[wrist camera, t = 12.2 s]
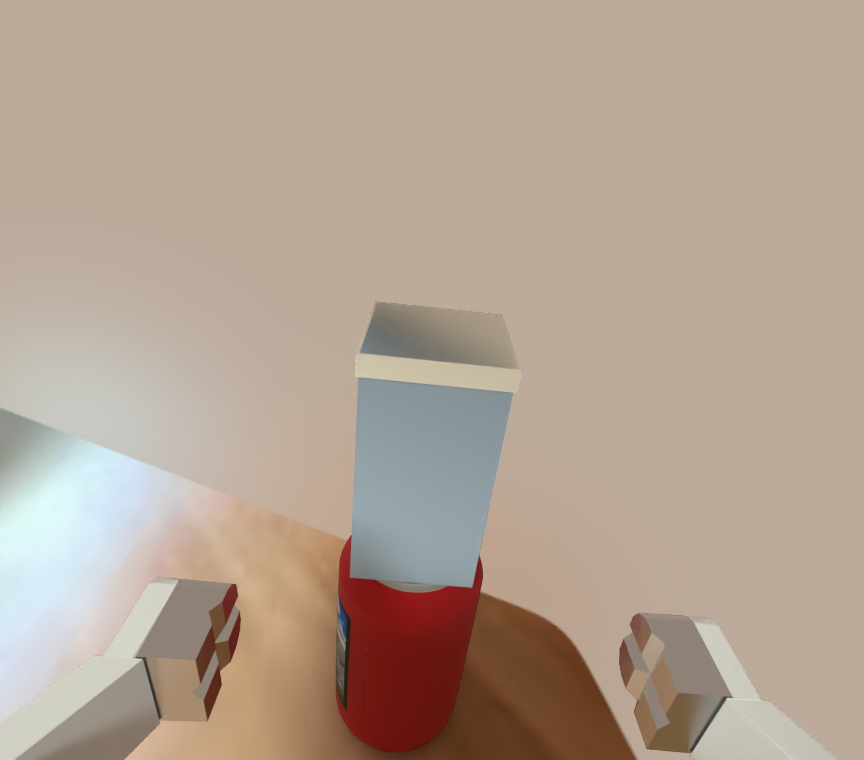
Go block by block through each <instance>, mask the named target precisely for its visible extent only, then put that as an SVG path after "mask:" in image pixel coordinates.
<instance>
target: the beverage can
mask: <svg viewBox="0 0 864 760" xmlns="http://www.w3.org/2000/svg"><path fill="white" fill-rule="evenodd" d="M351 539H352V535H351V536H350V538H349V539H348V541H347V542H346V544H345V546H344V548H343V550H342V553H341V557H340V563H339V584H338V610H337V645H336V698H337V704H338V708H339V711H340V714H341V716H342V718H343V720H344V722H345V724H346V725H347V727H348V728H349V729H350V730H351V732H352V733H353V734H354V735H355V736H356V737H357V738H359V739H360V740H361V741H363V742H364V743H366V744H367V745H369V746H371V747H374V748H376V749H379V750H383V751H388V752H403V751H409V750H413V749H416V748H418V747H421V746H423V745H424V744H426V743H428V742H429V741H431V740H432V739H433V738H434V737H436V736H437V735H438V734H439V733H440V732H441V730H442V729H443V728H444V727H445V725H446V724H447V722H448V720H449V718H450V716H451V714H452V711H453V709H454V705H455V701H456V697H457V693H458V689H459V685H460V680H461V676H462V672H463V668H464V664H465V659H466V655H467V651H468V646H469V642H470V637H471V633H472V628H473V624H474V619H475V614H476V609H477V605H478V600H479V595H480V590H481V585H482V579H483V570H482V563H481V560H480V556H479V558H478V562H477V567H476V572H475V577H474V581H473V586H472V588H471V587H459V586H447V585H435V584H423V583H410V582H398V581H386V580H374V579H362V578H350V562H351Z"/></svg>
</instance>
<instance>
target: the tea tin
mask: <svg viewBox="0 0 864 760" xmlns="http://www.w3.org/2000/svg"><path fill="white" fill-rule="evenodd" d="M521 372H522V370H521V368H520V365H519V361H518V359H517V356H516V353H515V350H514V347H513V344H512V342H511V339H510V336H509V333H508V330H507V327H506V324H505V322H504V319H503V316H502V315H501V314H491V313H482V312H472V311H462V310H453V309H444V308H435V307H425V306H416V305H406V304H397V303H388V302H378V301H375V302H374V305H373V308H372V311H371V313H370V316H369V319H368V322H367V324H366V327H365V330H364V333H363V336H362V338H361V341H360V344H359V347H358V349H357V352H356V363H355V377H358V400H357V424H356V446H355V447H356V448H355V470H354V493H353V494H354V495H353V515H352V539H351V562H350V578H362V579H374V580H386V581H398V582H410V583H423V584H435V585H447V586H459V587H471V588H472V586H473V581H474V577H475V572H476V567H477V562H478V558H479V553H480V548H481V543H482V539H483V534H484V529H485V524H486V519H487V515H488V510H489V505H490V501H491V496H492V491H493V486H494V481H495V477H496V472H497V467H498V463H499V458H500V453H501V448H502V444H503V439H504V434H505V429H506V424H507V420H508V415H509V410H510V406H511V401H512V396H513V393H517V391H518V386H519V382H520V377H521Z"/></svg>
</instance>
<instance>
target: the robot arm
mask: <svg viewBox="0 0 864 760" xmlns="http://www.w3.org/2000/svg"><path fill="white" fill-rule="evenodd" d="M237 597H238V593H237V587H236V584H227V583H217V582H207V581H197V580H187V579H177V578H165V577H156V578H155V579H154V580H153V581H152V582H151V583H150V584H149V585H148V586H147V588H146V590H145V591H144V593H143V594H142V596H141V597H140V599H139V601H138V602H137V604H136V605H135V607H134V608H133V610H132V612H131V613H130V615H129V616H128V618H127V619H126V621H125V623H124V624H123V626H122V627H121V629H120V630H119V632H118V634H117V635H116V637H115V638H114V640H113V641H112V643H111V645H110V646H109V648H108V649H107V651H106V652H105V654H104V656H94V657H92V658H91V659H89V660H88V661H87V662H85V663H84V664H82V665H81V666H79V667H78V668H77V669H75V670H74V671H72V672H71V673H69V674H68V675H67V676H65V677H64V678H62V679H61V680H59V681H58V682H57V683H55V684H54V685H52V686H51V687H49V688H48V689H47V690H45V691H44V692H42V693H41V694H40V695H38V696H37V697H35V698H34V699H32V700H31V701H30V702H28V703H27V704H25V705H24V706H22V707H21V708H20V709H18V710H17V711H15V712H14V713H12V714H11V715H10V716H8V717H7V718H5V719H4V720H2V721H1V722H0V760H124V759H125V758H126V757H127V756H128V755H129V754H130V753H131V752H132V751H133V750H134V749H135V748H136V747H137V746H138V745H139V744H140V743H141V742H142V741H143V740H144V739H145V738H146V737H147V736H148V735H149V734H150V733H151V732H152V731H153V730H154V729H155V728H156V727H157V726H158V725H159V724H160V721H159V720H168V721H199V722H207V721H208V719H209V716H210V714H211V711H212V709H213V706H214V703H215V701H216V698H217V696H218V693H219V691H220V688H221V686H222V683H221V676H220V671H221V670H222V669H223V668H224V667H225V666H226V665H227V664H229V663H230V662H231V659H232V657H233V654H234V651H235V649H236V645H237V641H238V637H239V632H240V621H241V618H240V611H239V610H238V609H237V608H236V607H235V606H234V604H235V602H236V599H237ZM630 626H631V628H632V631H633V633H631V634H630V635H628V636H627V637H625V638H624V639H623V642H622V645H621V647H620V656H619V657H620V659H619V664H620V670H621V675H622V678H623V681H624V684H625V687H626V689H627V690H628V691H629V692H630V693H631V694H632V695H633V696H634V697H635V698H636V700H637V704H636V707H635V710H634V714H635V717H636V720H637V722H638V725H639V728H640V731H641V734H642V736H643V740H644V742H645V745H646V748H647V749H651V750H662V751H673V752H684V753H691V755H690V756H691V758H692V759H693V760H838V759H837V758H836V757H835V756H833V755H832V754H831V753H830V752H829V751H828V750H826V749H825V748H824V747H823V746H822V745H821V744H819V743H818V742H817V741H816V740H815V739H813V738H812V737H811V736H810V735H809V734H807V733H806V732H805V731H804V730H803V729H802V728H801V727H799V726H798V725H797V724H796V723H795V722H794V721H792V720H791V719H790V718H789V717H788V716H787V715H785V714H784V713H783V712H782V711H781V710H779V709H778V708H777V707H776V706H775V705H773V703H771V702H770V701H766V700H761V698H760V696H759V695H758V693H757V691H756V689H755V688H754V686H753V684H752V682H751V681H750V679H749V677H748V676H747V674H746V672H745V671H744V669H743V667H742V665H741V663H740V662H739V660H738V658H737V657H736V655H735V653H734V651H733V650H732V648H731V646H730V645H729V643H728V641H727V640H726V638H725V636H724V634H723V633H722V631H721V629H720V628H719V626H718V624H717V623H716V622H715V621H714V620H713V619H711V618H702V617H701V618H700V617H685V616H681V615H665V614H648V613H638V614H636V615H635V616H633V618H632V621H631V623H630Z"/></svg>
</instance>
